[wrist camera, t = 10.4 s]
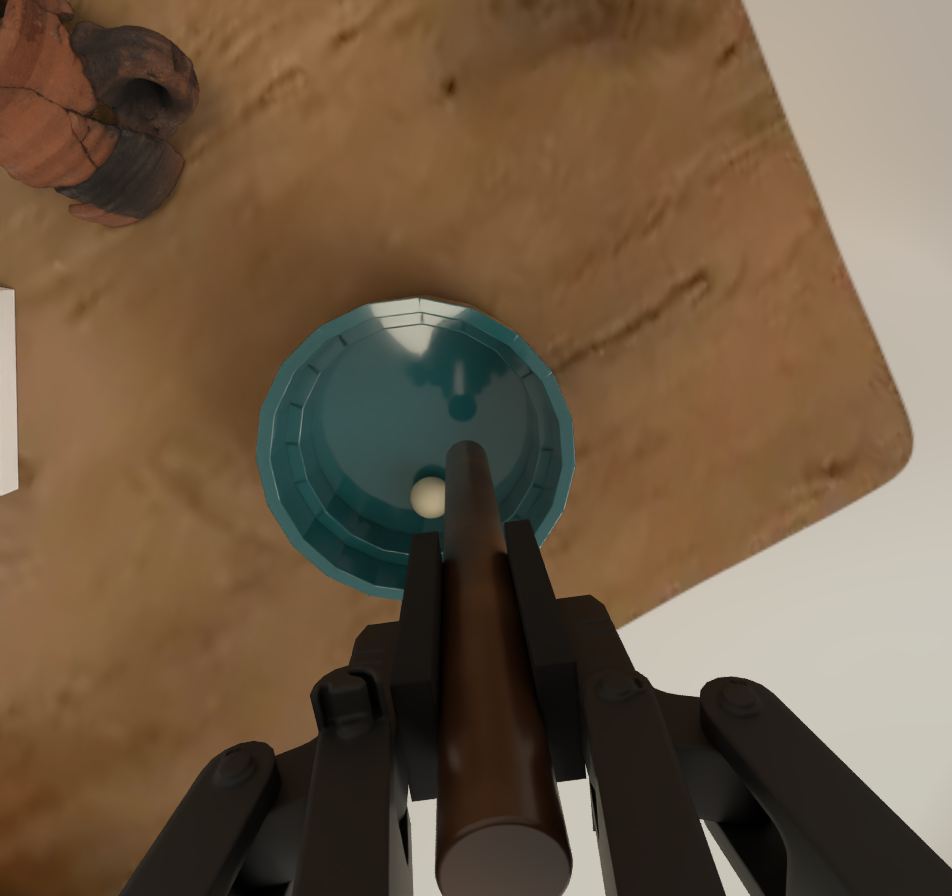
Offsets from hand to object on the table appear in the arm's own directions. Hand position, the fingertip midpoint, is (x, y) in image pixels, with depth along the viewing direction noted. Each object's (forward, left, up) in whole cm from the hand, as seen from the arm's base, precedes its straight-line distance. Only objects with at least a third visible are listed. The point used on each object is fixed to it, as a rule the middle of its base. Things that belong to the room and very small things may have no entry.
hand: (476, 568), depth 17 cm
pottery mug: (+15, -18, -17) cm, 29 cm away
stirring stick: (0, 0, -11) cm, 11 cm away
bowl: (+2, 0, -17) cm, 17 cm away
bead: (+2, +3, -17) cm, 17 cm away
